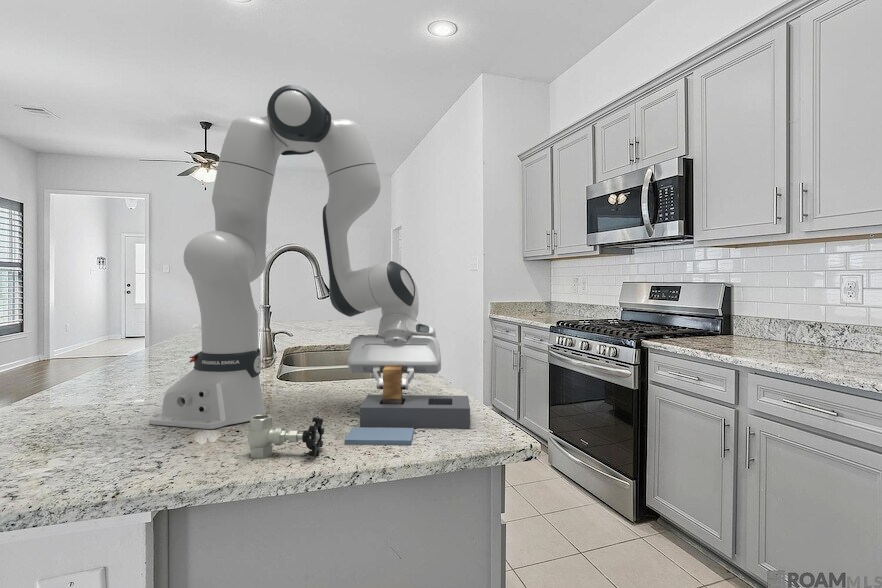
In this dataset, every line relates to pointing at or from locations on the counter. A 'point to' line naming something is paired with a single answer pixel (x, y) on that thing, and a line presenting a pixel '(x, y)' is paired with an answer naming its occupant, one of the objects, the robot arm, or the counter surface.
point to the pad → (380, 436)
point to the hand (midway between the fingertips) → (392, 388)
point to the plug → (392, 385)
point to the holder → (416, 412)
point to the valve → (281, 436)
